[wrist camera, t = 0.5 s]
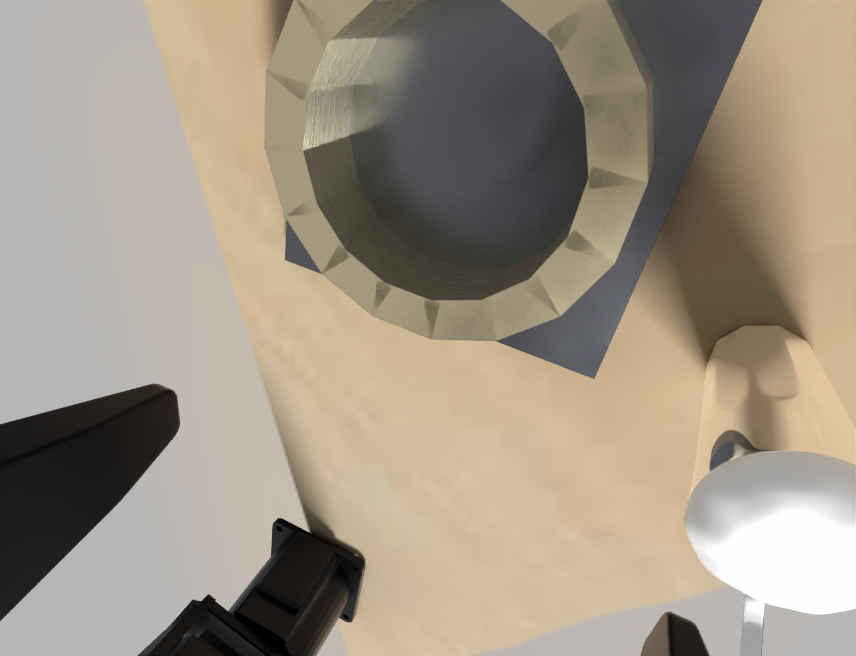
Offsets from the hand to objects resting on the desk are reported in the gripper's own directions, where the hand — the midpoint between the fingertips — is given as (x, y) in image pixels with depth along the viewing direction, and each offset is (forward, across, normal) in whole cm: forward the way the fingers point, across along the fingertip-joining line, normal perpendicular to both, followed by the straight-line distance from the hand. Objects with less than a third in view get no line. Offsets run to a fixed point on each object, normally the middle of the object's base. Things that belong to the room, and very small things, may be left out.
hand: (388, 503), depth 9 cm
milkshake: (+14, -8, +2) cm, 16 cm away
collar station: (+14, +4, -3) cm, 14 cm away
